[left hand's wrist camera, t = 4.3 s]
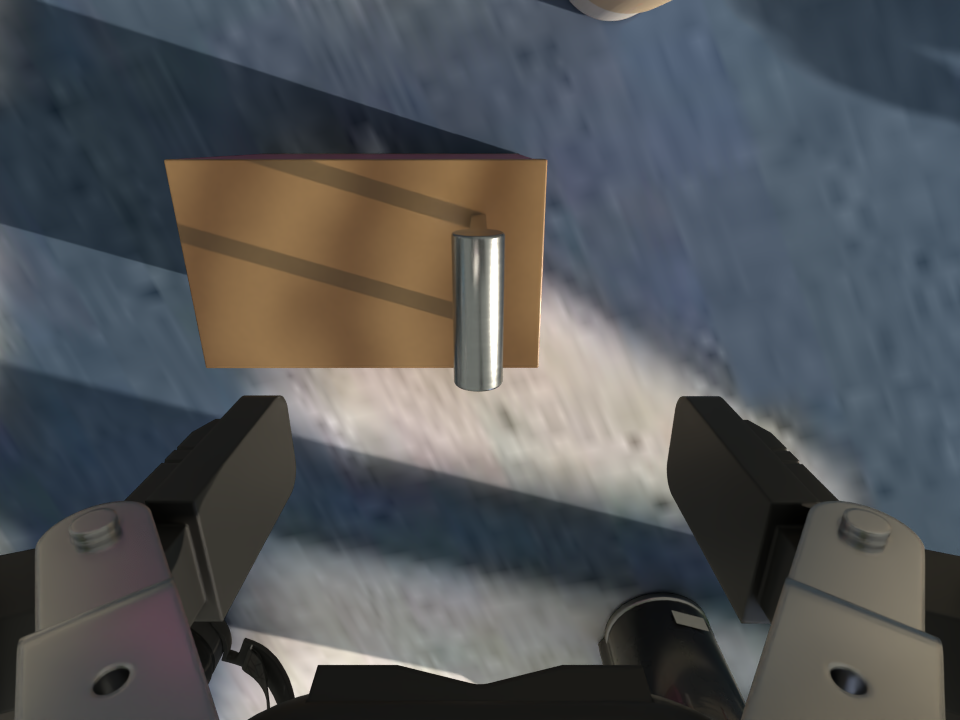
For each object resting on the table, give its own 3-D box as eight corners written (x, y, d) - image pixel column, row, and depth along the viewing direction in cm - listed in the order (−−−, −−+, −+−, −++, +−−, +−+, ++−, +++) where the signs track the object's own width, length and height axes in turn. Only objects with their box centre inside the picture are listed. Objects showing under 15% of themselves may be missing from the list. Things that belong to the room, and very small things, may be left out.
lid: (544, 159, 25) (575, 166, 17) (536, 361, 28) (557, 443, 21) (174, 158, 25) (35, 167, 17) (213, 361, 28) (114, 444, 21)
